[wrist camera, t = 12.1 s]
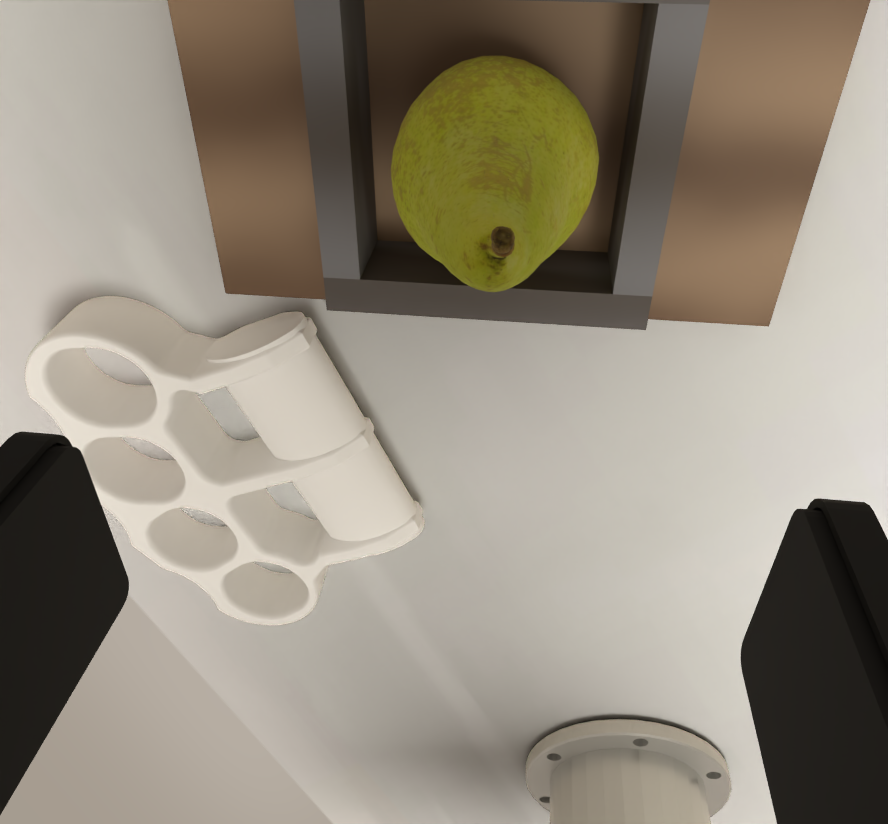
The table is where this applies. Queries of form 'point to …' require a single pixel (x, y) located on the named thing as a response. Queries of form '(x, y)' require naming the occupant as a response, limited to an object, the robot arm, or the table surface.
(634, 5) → the socket board
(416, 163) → the fruit
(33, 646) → the robot arm
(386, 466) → the knuckle duster
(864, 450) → the table surface
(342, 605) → the table surface
